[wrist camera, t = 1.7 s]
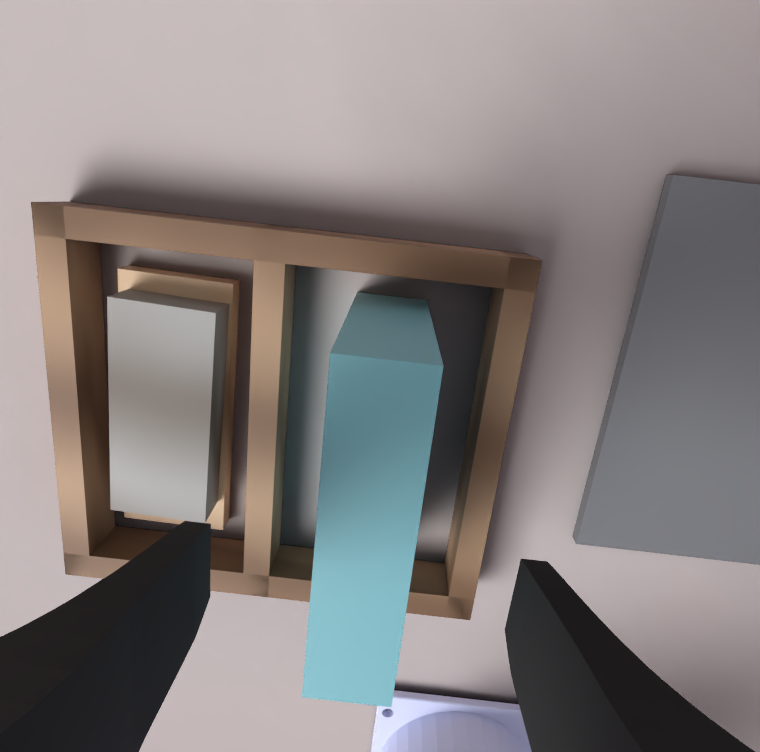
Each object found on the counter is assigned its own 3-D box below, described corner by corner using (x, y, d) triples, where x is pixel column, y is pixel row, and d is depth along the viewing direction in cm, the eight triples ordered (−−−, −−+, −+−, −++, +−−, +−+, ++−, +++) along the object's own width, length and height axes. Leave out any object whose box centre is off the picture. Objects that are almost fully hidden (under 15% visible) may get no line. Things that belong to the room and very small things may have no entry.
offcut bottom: (233, 509, 23) (222, 530, 22) (141, 497, 23) (124, 517, 22) (244, 277, 20) (233, 283, 19) (137, 263, 20) (117, 268, 19)
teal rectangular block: (394, 535, 23) (391, 707, 15) (335, 529, 23) (302, 697, 15) (426, 299, 19) (443, 365, 12) (357, 292, 19) (330, 353, 12)
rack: (464, 585, 23) (469, 620, 21) (92, 543, 23) (65, 574, 21) (527, 253, 19) (541, 260, 17) (68, 201, 19) (31, 202, 17)
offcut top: (217, 501, 21) (205, 523, 20) (129, 488, 21) (110, 509, 20) (229, 303, 19) (215, 313, 17) (128, 288, 19) (106, 296, 17)
